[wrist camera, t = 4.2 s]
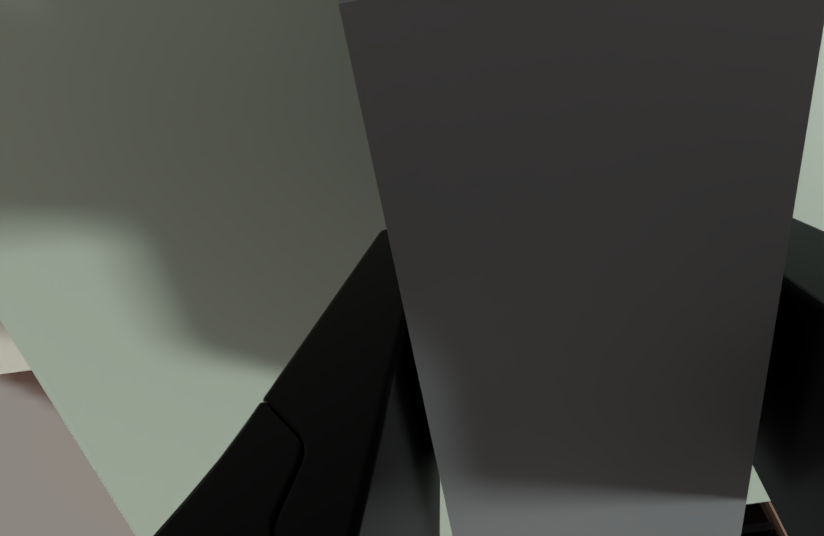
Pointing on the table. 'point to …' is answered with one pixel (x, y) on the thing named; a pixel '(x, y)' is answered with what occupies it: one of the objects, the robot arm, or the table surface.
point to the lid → (418, 233)
